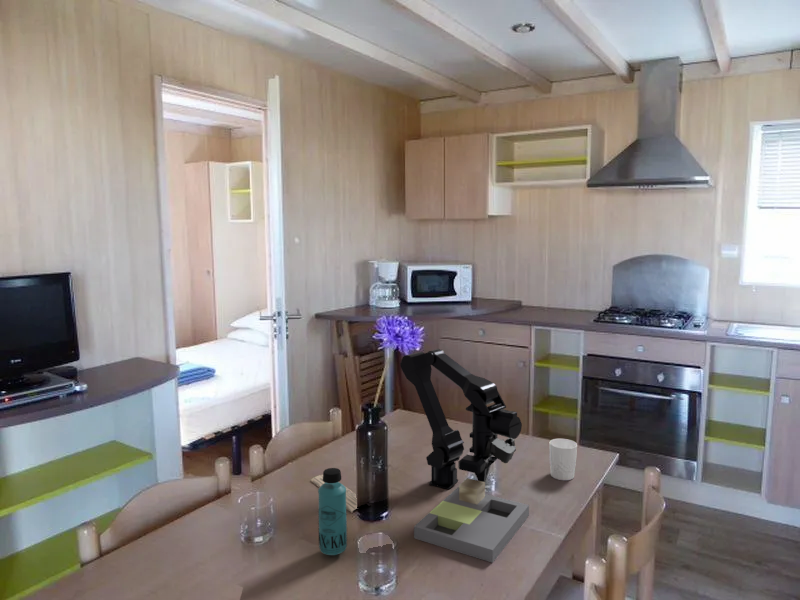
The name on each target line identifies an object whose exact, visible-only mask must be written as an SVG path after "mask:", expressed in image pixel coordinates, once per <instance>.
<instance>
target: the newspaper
mask: <svg viewBox="0 0 800 600" xmlns="http://www.w3.org/2000/svg"><path fill="white" fill-rule="evenodd" d="M310 482H311V483H312V484H314V485H315V486H317V487H318V489H319V488H320V487H321V486H322V485H323V484H324V483H326V482H324V481H323V474H319V475H317V476H314V477H313V478H311V479H310ZM345 488H346V511H349V512H350V513H351V514H353V513H354V511H355V510H356V509H358V508H357V498H356V493H355V492H354V491H352V490H351V489H350V488H348V487H347V486H345Z"/></svg>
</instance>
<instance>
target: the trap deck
mask: <svg viewBox="0 0 800 600" xmlns="http://www.w3.org/2000/svg"><path fill="white" fill-rule="evenodd" d="M528 516H530V504H526V503H523V502H519V501H516V500H511V499H506V498H503V497H499V496H496V495H495V496H494V495H491V494H487V493H485V497H484V498H483V499H482V500H481V501H480V502H479V503H478V504H473V503H469V502H465V501H461V500H459V487H456V488H455V489H454V490H453V491H452V492H451V493H450V494H448V496H446V497H445V498H444V499H443V500H442V501H441V502H440V503H438V504H437V506H435V507H434V508H433V509H432V510H431V511H430V512H428V513H426V515H425V516H424V517H422V519H420V520H419V522H417V523H416V524H415V525H414V526H413V539H416V540H419V541H422V542H425V543H428V544H431V545H434V546H437V547H440V548H441V547H442V548H444V549H447V550H451V551H453V552H456V553H461V554H463V555H466V556H470V557H473V558H477V559H480V560H482V561H484V562H485V561H486V562H489V563H492V564H493V563H494V562H495V560H496V559H497V558H498V556H499V555H500V554H501V553H502V552H503V550H504V549H505V547H507V545H508V544H509V542H510V541H511V540H512V539H513V537H514V536H515V535H516V533H517V532H518V531H519V529H520V528H521V527H522V525H523V524H524V523H525V522H526V521H527V519H528V518H529V517H528ZM527 517H528V518H527ZM524 521H525V522H524Z"/></svg>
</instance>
